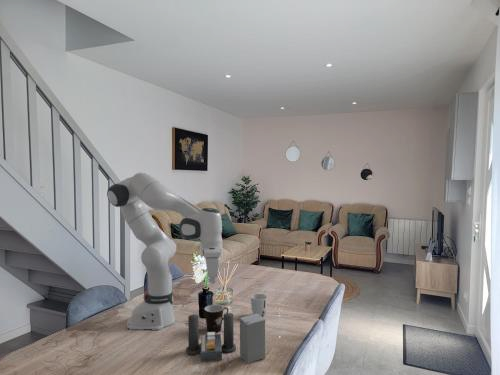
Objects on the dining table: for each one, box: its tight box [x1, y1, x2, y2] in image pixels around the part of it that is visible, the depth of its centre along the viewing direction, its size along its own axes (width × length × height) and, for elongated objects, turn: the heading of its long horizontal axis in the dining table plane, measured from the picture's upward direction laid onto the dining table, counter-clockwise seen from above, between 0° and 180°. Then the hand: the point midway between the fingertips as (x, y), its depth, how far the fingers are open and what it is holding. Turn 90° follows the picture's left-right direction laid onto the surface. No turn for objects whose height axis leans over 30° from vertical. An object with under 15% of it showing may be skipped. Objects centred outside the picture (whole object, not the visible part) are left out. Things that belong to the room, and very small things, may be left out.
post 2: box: [221, 312, 237, 354], centre depth 136 cm, size 6×6×14 cm
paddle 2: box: [206, 341, 215, 350], centre depth 131 cm, size 3×2×2 cm
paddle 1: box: [206, 331, 216, 337], centre depth 139 cm, size 3×2×2 cm
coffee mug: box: [204, 304, 229, 334], centre depth 154 cm, size 12×9×10 cm
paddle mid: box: [207, 336, 215, 343], centre depth 135 cm, size 3×2×2 cm
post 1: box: [185, 314, 201, 356], centre depth 135 cm, size 6×6×14 cm
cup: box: [250, 293, 268, 318], centre depth 168 cm, size 8×8×10 cm
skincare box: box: [239, 313, 266, 364], centre depth 130 cm, size 8×7×16 cm
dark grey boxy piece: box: [200, 333, 223, 363], centre depth 135 cm, size 8×14×4 cm, turn 7°
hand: (212, 282), depth 136 cm, fingers closed
